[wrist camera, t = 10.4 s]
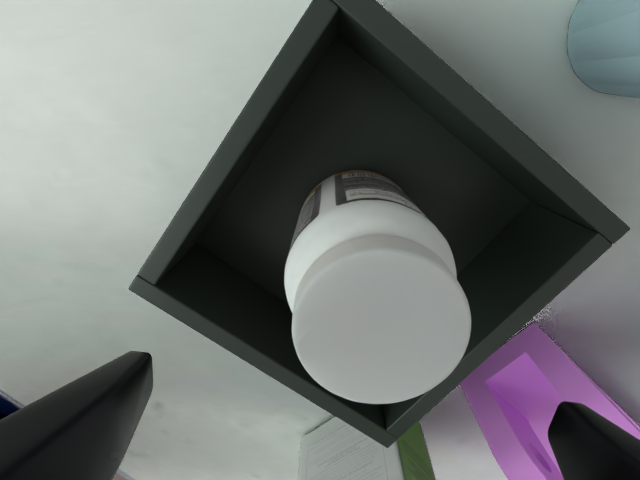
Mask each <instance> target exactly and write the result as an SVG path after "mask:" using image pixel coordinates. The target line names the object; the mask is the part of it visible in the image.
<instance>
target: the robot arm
mask: <svg viewBox="0 0 640 480" xmlns="http://www.w3.org/2000/svg"><path fill="white" fill-rule="evenodd" d="M152 388H153V368H152V357H151V355H150V354H149V353H146V352H138V351H130V352H128V353H126V354H124V355H122V356H120V357H118V358H117V359H115V360H113V361H111V362H109V363H107V364H105V365H103V366H101V367H100V368H98V369H96V370H94V371H92V372H90V373H88V374H86V375H84V376H82V377H81V378H79V379H77V380H75V381H73V382H71V383H69V384H67V385H65V386H63V387H62V388H60V389H58V390H56V391H54V392H52V393H50V394H48V395H46V396H45V397H43V398H41V399H39V400H37V401H35V402H33V403H31V404H29V405H27V406H26V407H24V408H22V409H20V410H18V411H16V412H14V413H12V414H10V415H8V416H6V415H4V414H2V413H0V480H112V479H113V477H114V475H115V473H116V471H117V470H118V468H119V466H120V464H121V462H122V459H123V457H124V455H125V453H126V451H127V448H128V446H129V444H130V441H131V439H132V437H133V434H134V432H135V430H136V428H137V425H138V423H139V421H140V418H141V416H142V414H143V411H144V409H145V407H146V405H147V402H148V400H149V398H150V395H151V392H152ZM548 440H549V443H550V446H551V448H552V451H553V453H554V456H555V458H556V461H557V463H558V466H559V469H560V471H561V474H562V476H563V479H564V480H640V440H639V439H637V438H636V437H634V436H633V435H631V434H630V433H628V432H627V431H625V430H623V429H622V428H620V427H619V426H617V425H616V424H614V423H612V422H611V421H609V420H608V419H606V418H605V417H603V416H601V415H600V414H598V413H597V412H595V411H594V410H592V409H590V408H589V407H587V406H586V405H584V404H582V403H577V402H568V401H563V402H561V403H560V404H559V405H558V407H557V409H556V411H555V414H554V416H553V418H552V421H551V423H550V425H549V428H548Z"/></svg>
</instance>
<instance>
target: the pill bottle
mask: <svg viewBox="0 0 640 480" xmlns="http://www.w3.org/2000/svg"><path fill="white" fill-rule="evenodd" d="M284 286H285V292H286V296H287V301H288V304H289V307H290V309H291V311H292V314H293V315H292V338H293V343H294V347H295V350H296V353H297V355H298V358H299V360H300V362H301V363H302V365H303V367H304V368H305V370H306V371H307V372H308V373H309V375H310V376H311V377H312V378H313V379H314V380H315V381H316V382H317V383H318V384H320V385H321V386H322V387H324V388H325V389H327V390H328V391H330V392H332V393H334V394H336V395H338V396H340V397H343V398H345V399H348V400H351V401H355V402H360V403H369V404H388V403H396V402H401V401H405V400H408V399H411V398H414V397H417V396H419V395H421V394H424V393H426V392H427V391H429V390H431V389H432V388H434V387H435V386H437V385H438V384H439V383H441V382H442V381H443V380H445V379H446V378H447V377H448V376H449V375H450V374H451V372H452V371H453V370H454V369H455V368H456V366H457V365H458V363H459V362H460V360H461V359H462V357H463V355H464V353H465V351H466V348H467V345H468V342H469V338H470V333H471V313H470V308H469V304H468V300H467V298H466V295H465V293H464V291H463V289H462V287H461V285H460V284H459V282H458V281H457V274H456V266H455V262H454V258H453V254H452V252H451V249H450V246H449V244H448V242H447V240H446V239H445V238H444V236H443V235H442V234H441V232H440V231H439V230H438V229H437V228H436V226H435V225H434V224H433V223H432V222H431V221H430V220H429V219H428V218H427V217H426V216H425V215H424V214H423V213H422V212H421V211H420V210H419V208H418V207H417V206H416V205H415V204H414V202H413V201H412V200H411V199H410V198H409V197H408V196H407V195H406V194H405V193H404V192H403V190H402V189H401V188H400V187H399V186H398V185H396V184H395V183H394V182H392V181H391V180H390V179H388V178H386V177H385V176H382V175H380V174H378V173H375V172H370V171H365V170H350V171H345V172H341V173H338V174H335V175H332V176H330V177H329V178H327V179H325V180H324V181H322V182H321V183H320V184H318V185H317V186H316V187H315V188H314V189H313V190H312V192H311V193H310V194H309V196H308V197H307V199H306V200H305V202H304V204H303V206H302V209H301V212H300V215H299V218H298V222H297V225H296V228H295V232H294V235H293V239H292V243H291V247H290V250H289V254H288V257H287V261H286V264H285V271H284Z"/></svg>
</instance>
